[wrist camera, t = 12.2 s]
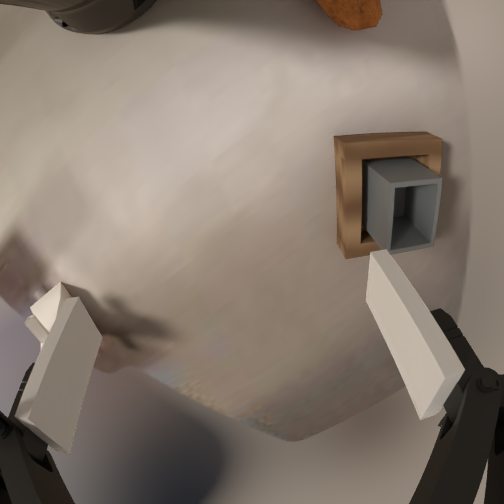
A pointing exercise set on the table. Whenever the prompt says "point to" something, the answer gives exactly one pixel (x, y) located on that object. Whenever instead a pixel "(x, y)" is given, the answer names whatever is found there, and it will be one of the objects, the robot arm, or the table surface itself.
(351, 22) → the potato
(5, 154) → the table surface
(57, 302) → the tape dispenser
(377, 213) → the grey open box
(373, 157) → the walnut crate
